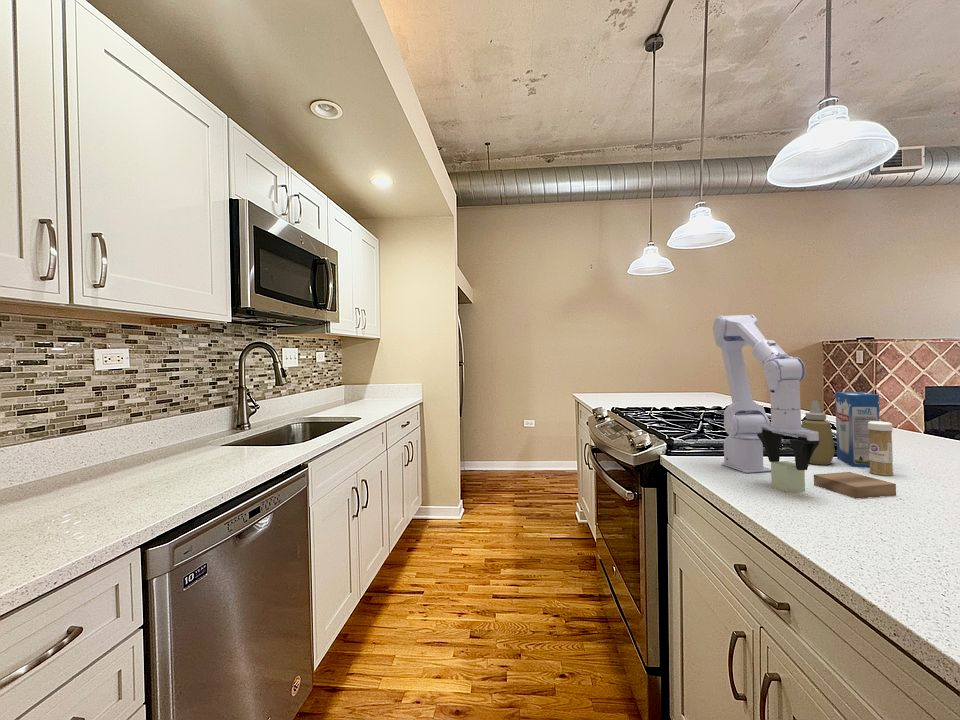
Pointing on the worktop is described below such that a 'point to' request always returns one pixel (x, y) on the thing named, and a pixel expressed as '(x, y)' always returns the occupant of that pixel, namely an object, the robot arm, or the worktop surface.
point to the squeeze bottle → (820, 435)
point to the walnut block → (855, 485)
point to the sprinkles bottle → (880, 448)
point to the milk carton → (855, 426)
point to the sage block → (787, 476)
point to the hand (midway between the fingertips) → (787, 465)
